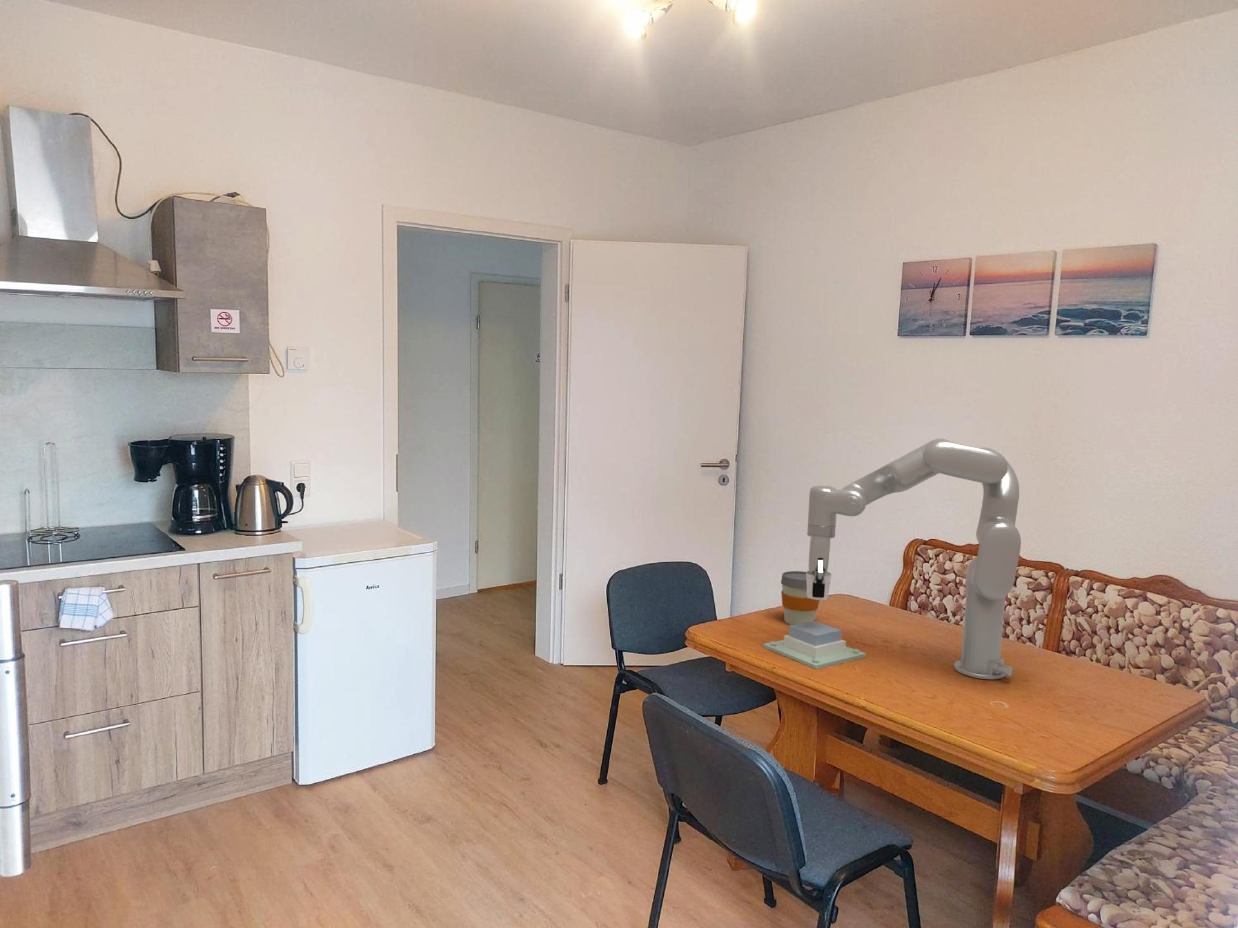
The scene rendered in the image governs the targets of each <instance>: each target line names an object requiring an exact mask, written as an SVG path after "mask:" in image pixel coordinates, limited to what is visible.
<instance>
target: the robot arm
mask: <svg viewBox="0 0 1238 928" xmlns="http://www.w3.org/2000/svg"><path fill="white" fill-rule="evenodd" d="M938 474H942V475H946V476H950V477H953V478H958V479H963V480H967V481H972V482H977V483H980V484H981V486H982V489H983V495H982V500H981V502H982V503H981V508H980V509H981V510H980V515H979V520H978V523H977V528H976V531H975V533H976V534H975V537H976V540H977V542H978V544H979V546H978V551H977V556H974V557H973V559H972V560H971V561H970V562H969V563H968V566H967V568H966V577H965V580H966V581H965V585H966V586H965V590H966V593H965V604H964V605H965V607H964V617H963V629H962V630H963V631H962V643H961V644H962V645H961V654H960V655H961V656H960V657H961V659H959V660H956V661H955V662H954V665H953V667H954V669H955V671H956V672H958V673H960V674H961V675H965V676H968V677H971V678H975V679H983V680H999V679H1003V678H1005V676H1007V677H1011V676H1012V674H1013V670H1014V669H1013V668H1014V667H1012V666H1009V665H1006V664H1005V658H1003V657H1001V654H1002V643H1003V641H1002V640H1003V628H1004V618H1005V606H1006V604H1005V603H1006V596H1007V595H1009V594H1010V592H1011V590H1012V588H1013V586H1014V583H1015V579H1016V575H1017V574H1016V573H1017V570H1018V565H1019V564H1018V563H1019V559H1020V555H1021V549H1022V547H1021V546H1022V538H1021V534H1020V532H1019V530H1018V528H1017V527H1016V521H1017V515H1018V505H1019V499H1020V485H1019V480H1018V477H1017V474H1016V472H1015V470H1014V468H1013V467H1012V465H1011V464H1010V463H1009V461H1008V460H1007V459H1006V458H1005V457H1004V456H1003V454H1001V453H1000V452H998V451H996V450H995V449H992V448H989V447H980V448H979V447H973V446H968V445H964V444H961V443H960V444H959V443H956V442H953V441H950V440H948V439H946V438H935V439H932V440H930V441H929V442H926V443H924V444H923V445H921V446H919V447H917V448H916V449H913V450H911V451H910V452H908V453H906V454H904V455H903V456H899V458H897V459H895V460H893V461H891V462H888V463H886V464H885V465H883V466H882V467H880V468H878V469H876V470H873V471H872V472H870V473H868V474H866V475H864V476H862V477H860V478H858V479H856V480H854V481H853V482H851V483H849V484H847V485H846V486H844V487H843V488H842V489H836V487H833V486H828V485H814V486H812V487H811V488H810V490H809V495H808V496H809V497H808V498H809V500H808V512H807V513H808V514H807V516H808V517H807V530H806V531H807V532H806V535H807V537H810V541H809V553H808V566H807V567H808V571H810V572H812V571H814V582H813V590H812V596H813V597H818V598H824V591H825V583H824V578H825V573H827V572H828V568H829V561H830V551H831V539H834V538H836V527H837V526H836V525H837V515H842V516H846V517H857V516H860V515H861V514H862V513H863V512H864V511H865V509H866V507H867V505H870V504H871V503H874V502H875V501H877V500H880V499H881V498H883V497H886V496H888V495H891V494H895V493H902V492H905V491H907V490H911V489H912V488H914V487H915V486H918V485H919V484H921V483H923V482H925V481H927V480H929V479H931V478H933V477H935V476H936V475H938ZM816 570H818V572H816ZM816 574H818V575H817V576H816Z"/></svg>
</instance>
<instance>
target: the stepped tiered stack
mask: <svg viewBox="0 0 1238 928" xmlns="http://www.w3.org/2000/svg"><path fill="white" fill-rule="evenodd" d="M841 638H842V630H841V629H839V628H835V627H834V626H830V625H827V624H824V623H822V622H820V621H819V622H818V621H816V620H814V621H811V622H806V623H801V624H796V625H791V624H790V625H789V633H788V634H784V635H783V639H780V640H776V641H774V640H771V641H770V642H766V643H763V645H762V648H763V647H764V648H763V649H766V650H768V649H769V650H768V651H771V650H772V651H771V652H773V651H774V652H773V653H775V652H777V653H776V654H777V655H780V654H781V656H783V657H785V656H786V657H785V658H788V659H790V660H792V659H794V660H793V661H795V660H796V661H795V662H797V661H798V662H797V663H801V664H802V665H805V666H807V667H809V668H812V669H814V670H819V669H822V668H826V667H830V666H834V665H839V664H842V663H846V662H851V661H855V659H856V660H859V659H864V658H866V657H867V652H863V651H860V649H859V648H852V647H849V646H847V645H846V643H847V641H846V640H844V639H841Z"/></svg>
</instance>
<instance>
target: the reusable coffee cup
mask: <svg viewBox="0 0 1238 928" xmlns="http://www.w3.org/2000/svg"><path fill="white" fill-rule="evenodd" d="M806 572H807V571H799V570H791V571H785V572H783V573H782V574H781V580H780V583H781V588H782V590H781V605H782V607H783V615H784V622H785V624H787V625H788V624H789V625H790V626H791V625H796V624H801V623H806V622H811V621H815V617H816V616H815V615H816V612H817V610H818V609H819V605H820V603H819V602H820V600H815V599H810V598H808V597H807V581H806Z"/></svg>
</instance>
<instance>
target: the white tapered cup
mask: <svg viewBox="0 0 1238 928" xmlns="http://www.w3.org/2000/svg"><path fill="white" fill-rule="evenodd" d="M805 572H806V581H807V597H808V598H810V599H815V600H819V601H825V600H827V599H828V598H829V592H830V585H831V579H832V573H831V572H828V571H827V573H825V578H824V583H825V591H824V598H818V597H813V596H812V590H813V582H814V571H812V572H810V571H809V570H806V571H805ZM816 572H818V570H816ZM817 575H818V574H816V576H817Z"/></svg>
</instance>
